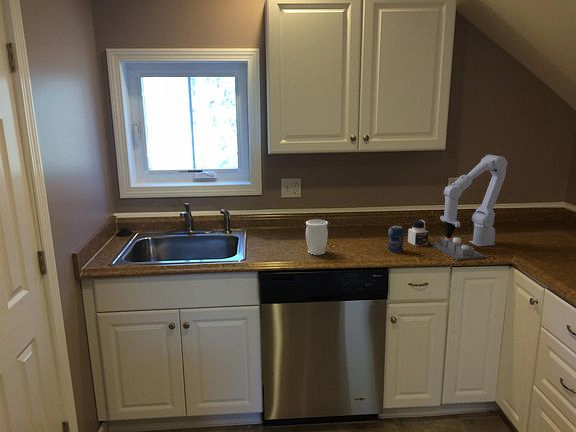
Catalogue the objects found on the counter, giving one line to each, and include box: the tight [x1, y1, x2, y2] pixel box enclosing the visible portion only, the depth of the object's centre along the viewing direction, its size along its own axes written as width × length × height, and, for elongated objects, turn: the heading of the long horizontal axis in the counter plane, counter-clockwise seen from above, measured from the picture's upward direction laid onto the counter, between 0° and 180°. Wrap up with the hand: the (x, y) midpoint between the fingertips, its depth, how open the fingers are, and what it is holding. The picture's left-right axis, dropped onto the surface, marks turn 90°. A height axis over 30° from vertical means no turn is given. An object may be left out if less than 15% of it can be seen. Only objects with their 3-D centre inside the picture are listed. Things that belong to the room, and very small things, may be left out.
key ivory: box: [452, 237, 462, 245], centre depth 213 cm, size 4×4×3 cm
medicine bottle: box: [407, 219, 429, 247], centre depth 224 cm, size 7×7×12 cm
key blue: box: [461, 244, 471, 249], centre depth 206 cm, size 4×4×3 cm
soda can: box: [387, 224, 404, 254], centre depth 213 cm, size 7×7×12 cm
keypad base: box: [429, 236, 486, 261], centre depth 213 cm, size 14×24×4 cm, turn 12°
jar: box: [305, 219, 329, 256], centre depth 212 cm, size 11×10×15 cm
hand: (448, 237), depth 219 cm, fingers closed
